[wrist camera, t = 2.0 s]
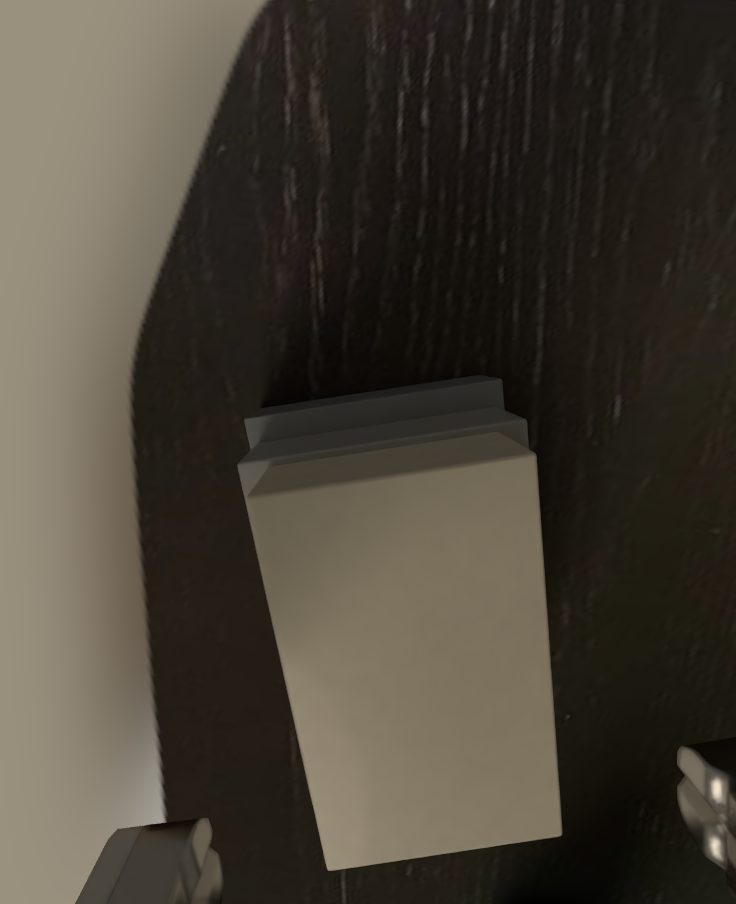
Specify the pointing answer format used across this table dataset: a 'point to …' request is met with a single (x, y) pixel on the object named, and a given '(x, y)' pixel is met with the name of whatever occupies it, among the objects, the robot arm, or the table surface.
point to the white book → (415, 645)
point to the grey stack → (375, 425)
